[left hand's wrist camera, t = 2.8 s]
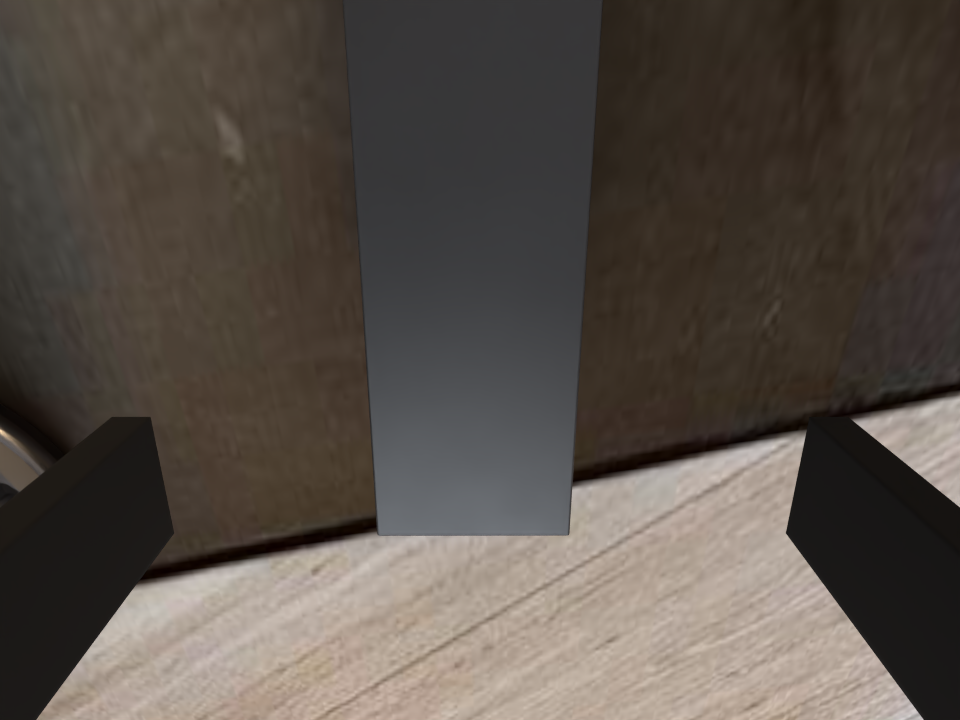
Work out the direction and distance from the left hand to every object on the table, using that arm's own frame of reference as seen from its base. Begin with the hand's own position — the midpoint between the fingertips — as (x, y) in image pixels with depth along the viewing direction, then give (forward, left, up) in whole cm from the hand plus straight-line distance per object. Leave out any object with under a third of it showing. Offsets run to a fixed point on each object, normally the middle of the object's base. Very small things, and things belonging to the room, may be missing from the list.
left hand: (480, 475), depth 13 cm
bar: (+8, +2, -12) cm, 14 cm away
